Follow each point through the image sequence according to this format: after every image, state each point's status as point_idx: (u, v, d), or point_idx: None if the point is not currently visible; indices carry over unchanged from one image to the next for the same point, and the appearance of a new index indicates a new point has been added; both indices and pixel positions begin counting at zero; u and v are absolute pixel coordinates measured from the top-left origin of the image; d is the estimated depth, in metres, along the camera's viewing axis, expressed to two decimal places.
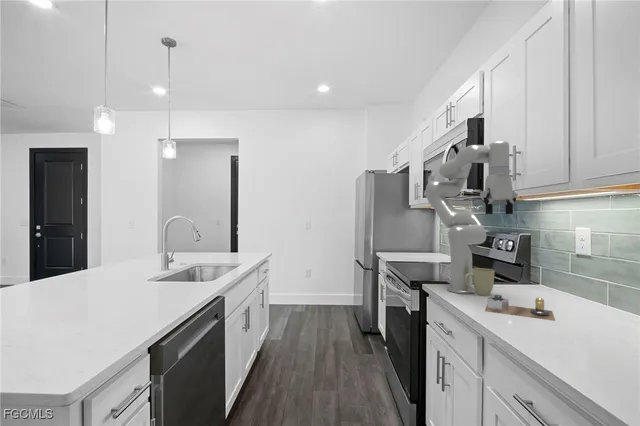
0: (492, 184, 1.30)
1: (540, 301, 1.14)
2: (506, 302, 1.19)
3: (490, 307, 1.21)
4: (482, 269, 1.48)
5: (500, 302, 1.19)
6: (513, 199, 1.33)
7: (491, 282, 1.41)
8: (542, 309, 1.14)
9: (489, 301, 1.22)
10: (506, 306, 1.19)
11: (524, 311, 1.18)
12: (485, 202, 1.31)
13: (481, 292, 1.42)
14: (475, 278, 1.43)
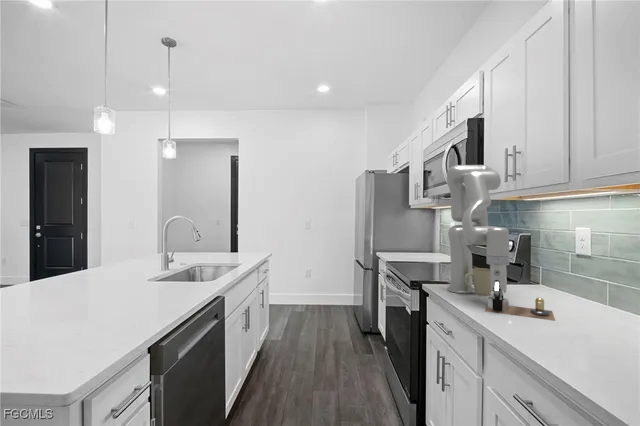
0: None
1: (540, 301, 1.14)
2: (506, 302, 1.19)
3: (490, 307, 1.21)
4: (482, 269, 1.48)
5: None
6: None
7: None
8: (542, 309, 1.14)
9: (489, 301, 1.22)
10: (506, 306, 1.19)
11: (524, 311, 1.18)
12: None
13: (481, 292, 1.42)
14: (475, 278, 1.43)
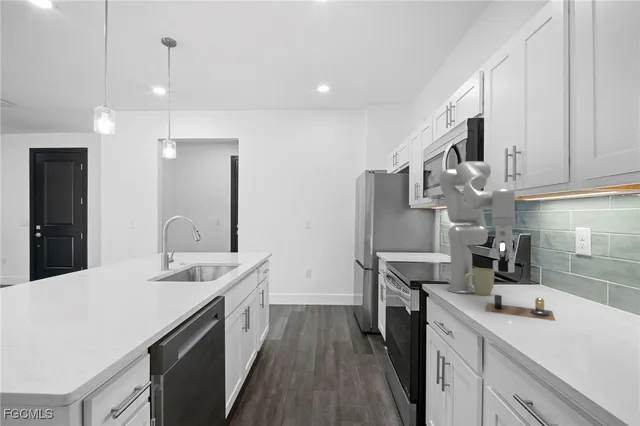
0: None
1: (540, 301, 1.14)
2: (512, 263, 1.18)
3: (495, 269, 1.20)
4: (482, 269, 1.48)
5: None
6: None
7: (491, 282, 1.40)
8: (542, 309, 1.14)
9: (494, 263, 1.21)
10: (512, 267, 1.18)
11: (524, 311, 1.18)
12: None
13: (481, 292, 1.42)
14: (475, 278, 1.43)
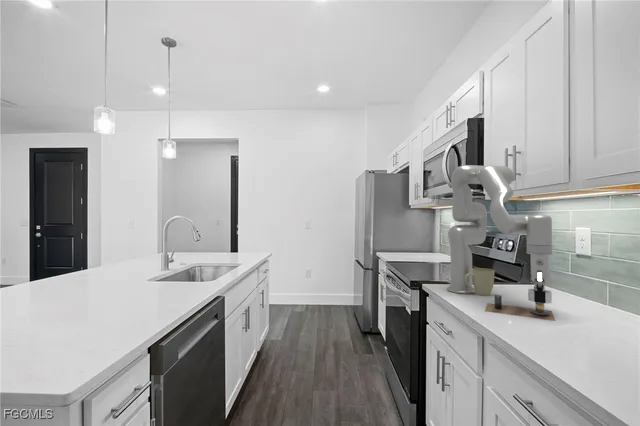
0: None
1: None
2: (549, 294, 1.12)
3: (531, 299, 1.15)
4: (482, 269, 1.48)
5: None
6: None
7: (491, 282, 1.41)
8: (542, 309, 1.14)
9: (530, 293, 1.15)
10: (549, 298, 1.12)
11: (524, 311, 1.18)
12: None
13: (481, 292, 1.42)
14: (475, 278, 1.43)
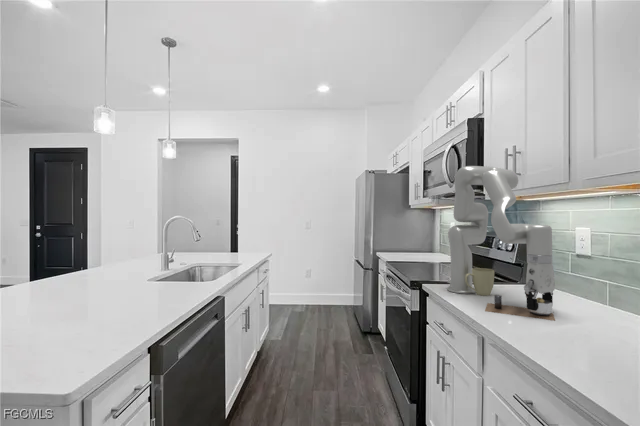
0: None
1: (540, 301, 1.14)
2: (545, 304, 1.12)
3: None
4: (482, 269, 1.48)
5: (537, 303, 1.13)
6: None
7: (491, 282, 1.40)
8: None
9: None
10: (545, 309, 1.12)
11: (524, 311, 1.18)
12: None
13: (481, 292, 1.42)
14: (475, 278, 1.43)
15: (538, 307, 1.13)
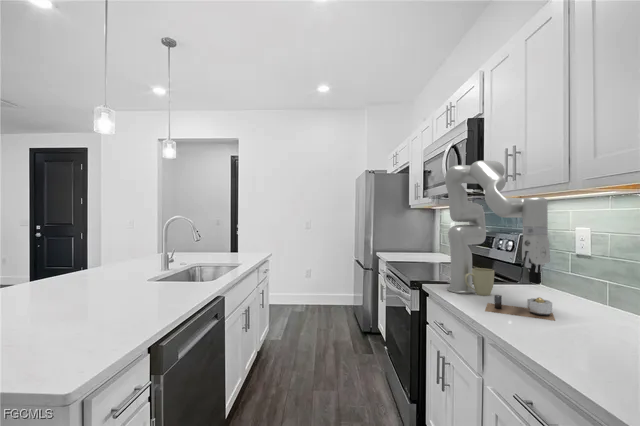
0: None
1: (540, 301, 1.14)
2: (545, 304, 1.12)
3: (528, 308, 1.16)
4: (482, 269, 1.48)
5: (537, 303, 1.13)
6: None
7: (491, 282, 1.41)
8: None
9: (528, 302, 1.17)
10: (545, 309, 1.12)
11: (524, 311, 1.18)
12: None
13: (481, 292, 1.42)
14: (475, 278, 1.43)
15: (538, 307, 1.13)
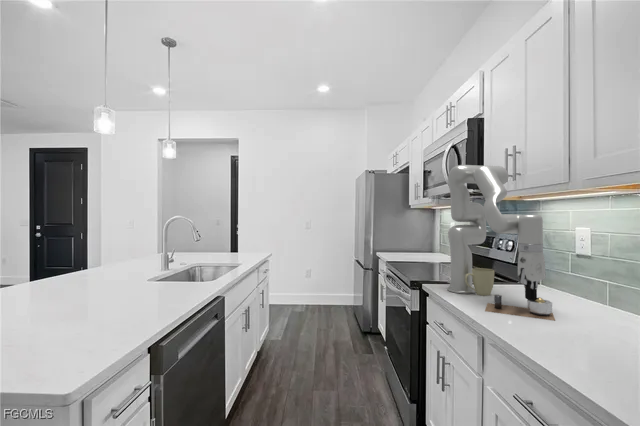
0: None
1: (540, 301, 1.14)
2: (545, 304, 1.12)
3: (528, 308, 1.16)
4: (482, 269, 1.48)
5: (537, 303, 1.13)
6: None
7: (491, 282, 1.40)
8: None
9: (528, 302, 1.17)
10: (545, 309, 1.12)
11: (524, 311, 1.18)
12: None
13: (481, 292, 1.42)
14: (475, 278, 1.43)
15: (538, 307, 1.13)
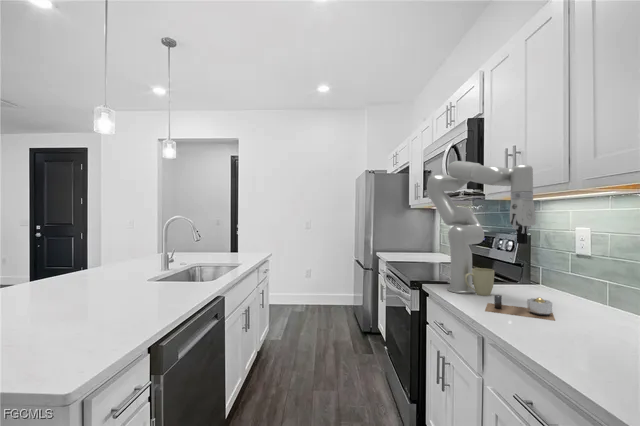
0: None
1: (540, 301, 1.14)
2: (545, 304, 1.12)
3: (528, 308, 1.16)
4: (482, 269, 1.48)
5: (537, 303, 1.13)
6: None
7: (491, 282, 1.41)
8: None
9: (528, 302, 1.17)
10: (545, 309, 1.12)
11: (524, 311, 1.18)
12: None
13: (481, 292, 1.42)
14: (475, 278, 1.43)
15: (538, 307, 1.13)
